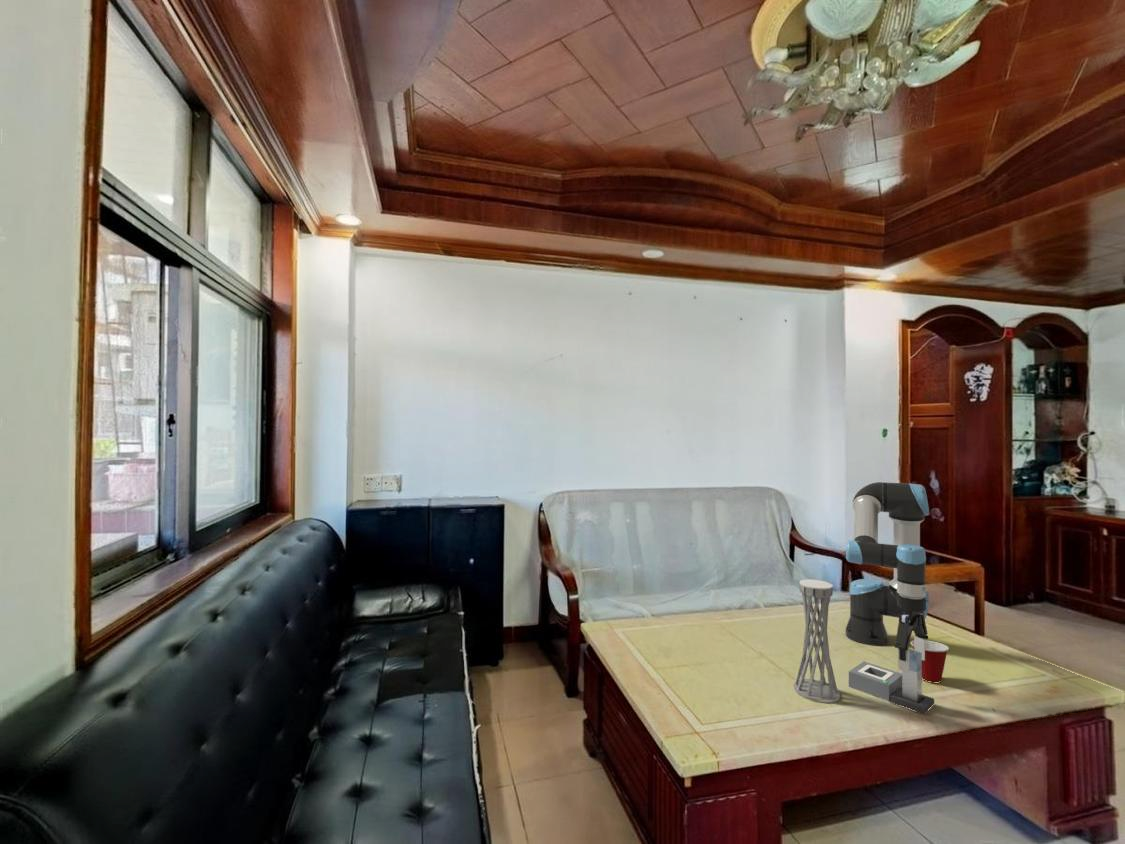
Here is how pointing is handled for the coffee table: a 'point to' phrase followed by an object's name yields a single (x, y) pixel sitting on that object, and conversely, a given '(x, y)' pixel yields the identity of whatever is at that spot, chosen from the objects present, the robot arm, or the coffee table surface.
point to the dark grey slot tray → (920, 707)
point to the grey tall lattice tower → (812, 687)
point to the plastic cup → (933, 660)
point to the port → (875, 680)
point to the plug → (913, 678)
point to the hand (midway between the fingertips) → (911, 664)
